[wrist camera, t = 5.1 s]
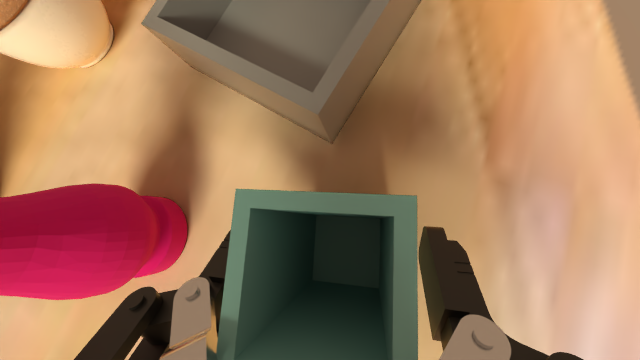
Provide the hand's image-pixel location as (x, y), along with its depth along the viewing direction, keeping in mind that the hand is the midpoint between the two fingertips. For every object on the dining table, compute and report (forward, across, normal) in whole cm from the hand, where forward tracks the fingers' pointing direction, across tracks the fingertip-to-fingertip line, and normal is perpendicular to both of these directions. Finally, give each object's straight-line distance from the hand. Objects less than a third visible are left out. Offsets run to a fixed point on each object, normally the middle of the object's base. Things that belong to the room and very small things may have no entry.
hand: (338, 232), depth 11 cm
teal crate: (+3, 0, +5) cm, 5 cm away
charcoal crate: (+15, +5, -8) cm, 18 cm away
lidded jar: (+17, +29, -9) cm, 35 cm away
